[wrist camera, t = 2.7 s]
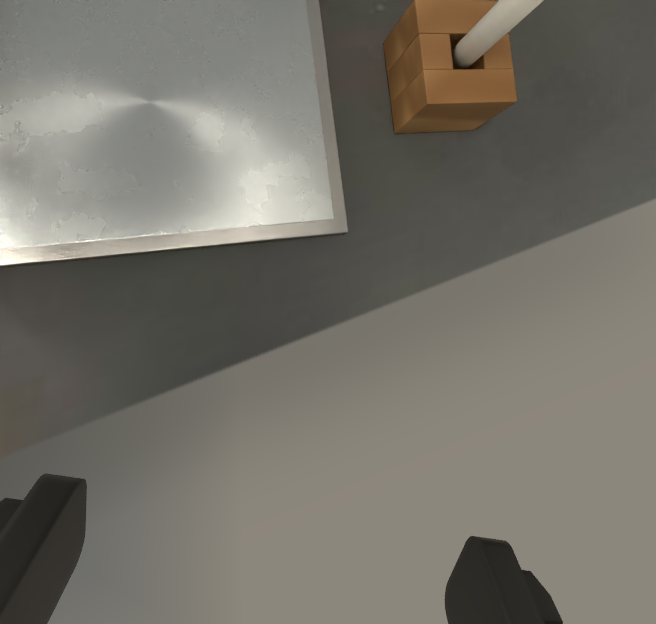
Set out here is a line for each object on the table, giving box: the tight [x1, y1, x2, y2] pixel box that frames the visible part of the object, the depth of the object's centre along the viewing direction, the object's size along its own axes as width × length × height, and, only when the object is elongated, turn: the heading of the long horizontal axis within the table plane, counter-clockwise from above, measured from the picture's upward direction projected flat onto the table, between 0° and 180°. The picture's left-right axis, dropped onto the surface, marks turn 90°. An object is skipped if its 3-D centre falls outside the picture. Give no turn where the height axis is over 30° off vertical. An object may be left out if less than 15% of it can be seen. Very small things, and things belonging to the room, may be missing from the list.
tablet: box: [0, 0, 348, 268], centre depth 29 cm, size 17×22×1 cm
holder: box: [383, 0, 517, 134], centre depth 32 cm, size 6×6×5 cm
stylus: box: [451, 0, 543, 70], centre depth 27 cm, size 2×2×15 cm
